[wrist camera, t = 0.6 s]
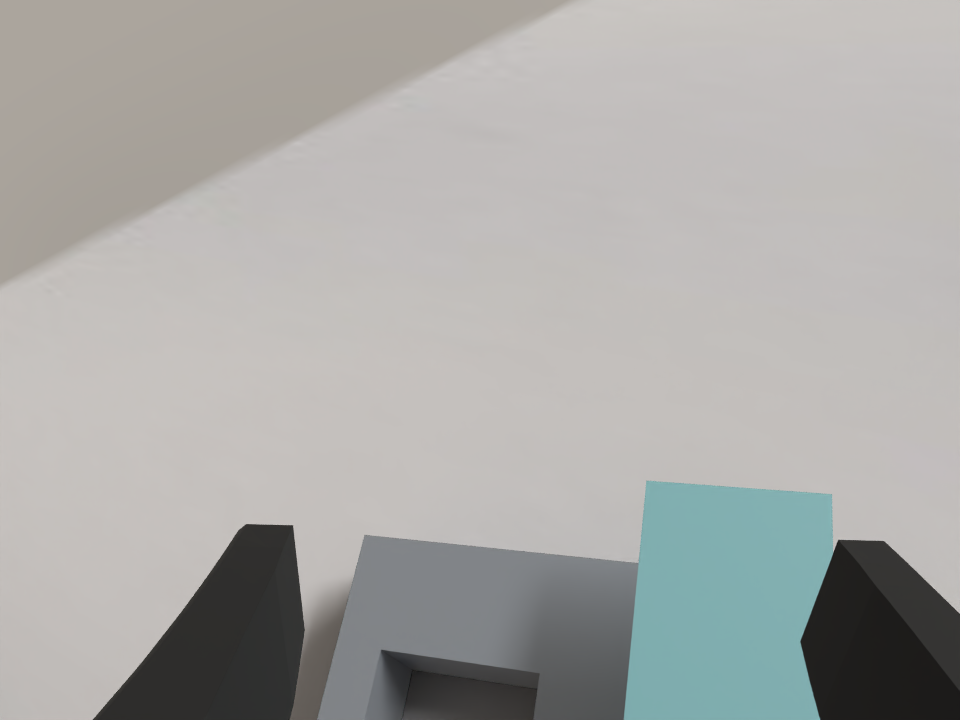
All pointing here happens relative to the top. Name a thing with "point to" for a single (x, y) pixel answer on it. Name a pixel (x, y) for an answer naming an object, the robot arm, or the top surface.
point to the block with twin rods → (726, 602)
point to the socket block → (483, 628)
